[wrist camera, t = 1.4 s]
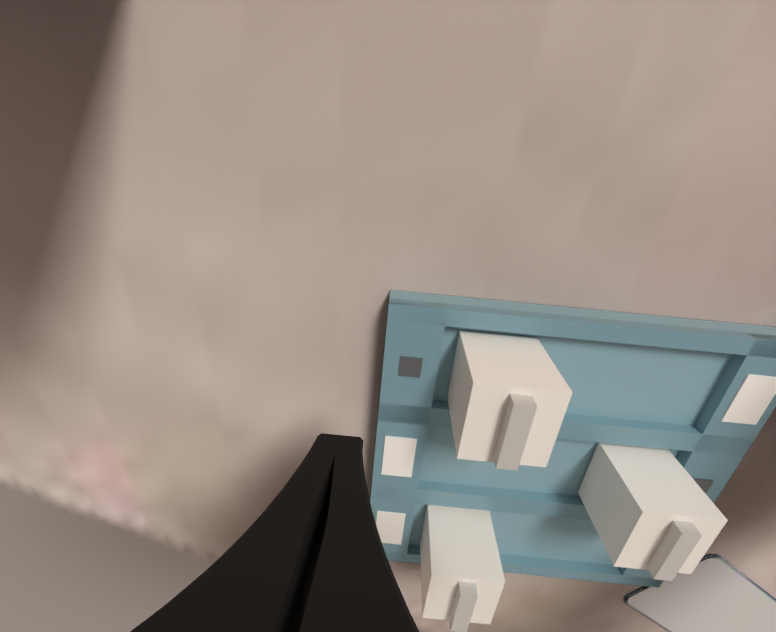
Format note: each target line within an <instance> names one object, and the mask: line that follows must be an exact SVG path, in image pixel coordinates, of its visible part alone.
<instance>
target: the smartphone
mask: <svg viewBox="0 0 776 632" xmlns="http://www.w3.org/2000/svg"><path fill="white" fill-rule="evenodd" d="M624 601H625V603H626V604H628V605H629V606H631V607H632V608H634V609H635V610H637V611H638V612H640V613H641V614H643V615H644V616H646V617H648V618H649V619H651V620H652V621H654V622H655V623H657V624H658V625H660V626H661V627H663V628H664V629H666V630H668V631H669V632H776V599H775V598H774V597H772V596H771V595H770V594H768V593H767V592H766V591H765V590H763V589H762V588H761V587H759V586H758V585H757V584H755V583H754V582H753V581H752V580H751V579H750V578H748V577H746V576H745V574H743V573H742V572H740V571H739V570H738V569H736V568H735V567H734V566H732V565H731V564H730V563H729V562H728V561H726V560H724V559H723V558H722V557H720V556H719V555H717V554H706V555H704V556H703V557H702V559H701V560H700V562H699V563H698V565H697V566H696V568H695V569H694V571H693V572H692V573H691V574H684V573H677V575H676V576H675V578H674V579H673V581H666V580H664V581H663V583H662V584H661V586H660V587H659V588H657V587H647V586H642V587H640V588H638V589H636V590H634V591H632V592H630V593H628V594H627V595H626V596H625V597H624Z"/></svg>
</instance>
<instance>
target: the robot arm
mask: <svg viewBox="0 0 776 632" xmlns="http://www.w3.org/2000/svg"><path fill="white" fill-rule="evenodd" d="M362 449H363V440H362V439H361V438H360V437H352V436H342V435H332V434H320V435H319V436H318V437H317V438H316V440H315V442H314V444H313V446H312V447H311V449H310V451H309V452H308V454H307V455H306V457H305V458H304V460H303V461H302V463H301V464H300V466H299V467H298V469H297V470H296V471H295V473H294V474H293V476H292V477H291V478H290V480H289V481H288V482H287V484H286V485H285V486H284V488H283V489H282V490H281V492H280V493H279V494H278V495H277V496H276V498H275V499H274V500H273V501H272V503H271V504H270V505H269V506H268V507H267V509H266V510H265V511H264V512H263V513H262V515H261V516H260V517H259V518H258V519H257V520H256V521H255V522H254V523H253V525H252V526H251V527H250V528H249V529H248V530H247V531H246V532H245V533H244V534H243V535H242V536H241V537H240V538H239V539H238V540H237V541H236V542H235V543H234V544H233V545H232V546H231V547H230V548H229V549H228V550H227V551H226V552H225V553H224V554H223V555H222V556H221V557H220V558H219V559H218V560H217V561H216V562H215V563H214V564H213V565H211V566H210V567H209V568H208V569H207V570H206V571H205V572H204V573H203V574H201V575H200V576H199V577H198V578H197V579H196V580H194V581H193V582H192V583H191V584H190V585H188V586H187V587H186V588H185V589H184V590H183V591H182V592H180V593H179V594H178V595H177V596H176V597H174V598H173V599H172V600H171V601H170V602H168V603H167V604H166V605H165V606H163V607H162V608H161V609H160V610H158V611H157V612H156V613H154V614H153V615H152V616H150V617H149V618H148V619H147V620H145V621H144V622H143V623H141V624H140V625H138V626H137V627H136V628H134V629H133V630H132V631H131V632H419V630H418V628H417V626H416V624H415V622H414V620H413V618H412V616H411V614H410V612H409V610H408V607H407V605H406V603H405V600H404V598H403V596H402V593H401V591H400V589H399V587H398V584H397V582H396V580H395V577H394V575H393V572H392V570H391V567H390V564H389V562H388V559H387V556H386V554H385V551H384V548H383V545H382V542H381V539H380V536H379V533H378V529H377V526H376V523H375V519H374V515H373V512H372V508H371V504H370V500H369V495H368V490H367V485H366V480H365V474H364V466H363V455H362Z"/></svg>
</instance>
